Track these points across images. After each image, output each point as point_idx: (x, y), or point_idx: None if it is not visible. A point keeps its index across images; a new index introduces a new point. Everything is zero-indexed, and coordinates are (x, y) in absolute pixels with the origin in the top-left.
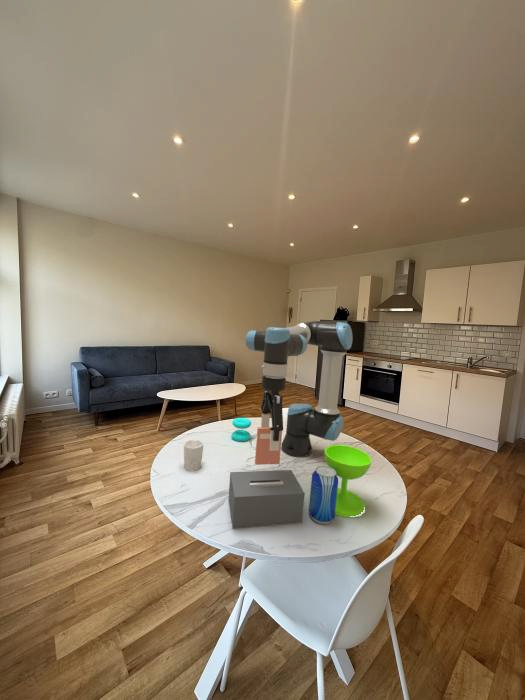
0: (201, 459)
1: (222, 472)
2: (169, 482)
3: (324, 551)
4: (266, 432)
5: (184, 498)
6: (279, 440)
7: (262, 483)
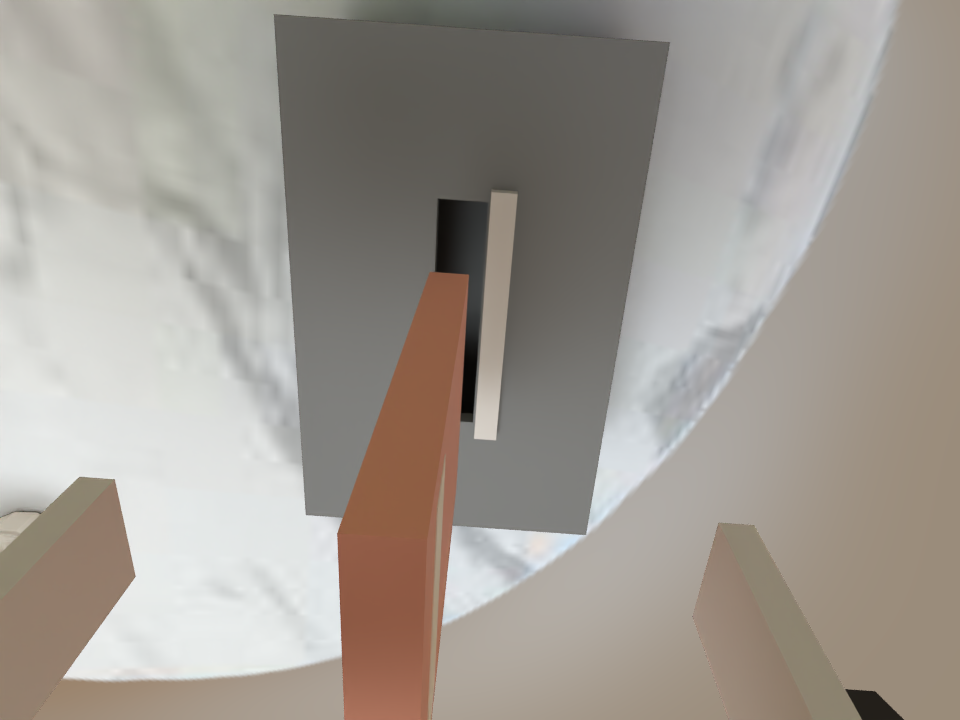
0: (4, 544)
1: (77, 407)
2: (201, 637)
3: (868, 7)
4: (425, 713)
5: (328, 587)
6: (823, 651)
7: (493, 359)
